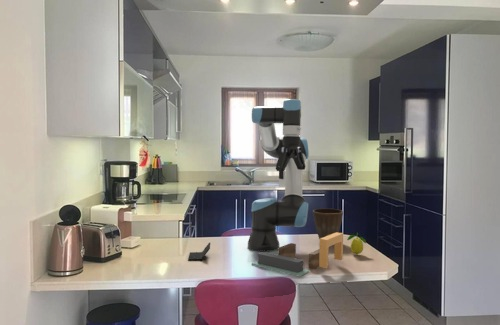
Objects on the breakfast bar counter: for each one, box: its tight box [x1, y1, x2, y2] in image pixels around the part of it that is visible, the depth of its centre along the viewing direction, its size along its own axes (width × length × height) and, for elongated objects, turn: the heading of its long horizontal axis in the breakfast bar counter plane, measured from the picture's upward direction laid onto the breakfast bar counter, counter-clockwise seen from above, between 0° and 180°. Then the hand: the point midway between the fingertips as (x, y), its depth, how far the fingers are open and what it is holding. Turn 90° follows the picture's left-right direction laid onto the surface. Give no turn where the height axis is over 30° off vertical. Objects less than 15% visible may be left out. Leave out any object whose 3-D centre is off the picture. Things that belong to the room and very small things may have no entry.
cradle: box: [277, 242, 320, 270], centre depth 167 cm, size 17×10×6 cm, turn 52°
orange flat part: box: [318, 232, 344, 269], centre depth 159 cm, size 3×14×11 cm, turn 142°
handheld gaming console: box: [187, 242, 211, 262], centre depth 175 cm, size 12×7×10 cm
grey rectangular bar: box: [257, 251, 304, 273], centre depth 160 cm, size 19×4×4 cm, turn 52°
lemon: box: [347, 232, 367, 256], centre depth 180 cm, size 7×6×10 cm
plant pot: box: [312, 208, 344, 240], centre depth 203 cm, size 15×15×16 cm
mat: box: [251, 260, 311, 277], centre depth 160 cm, size 23×7×1 cm, turn 52°
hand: (290, 185), depth 172 cm, fingers open, 13 cm apart
